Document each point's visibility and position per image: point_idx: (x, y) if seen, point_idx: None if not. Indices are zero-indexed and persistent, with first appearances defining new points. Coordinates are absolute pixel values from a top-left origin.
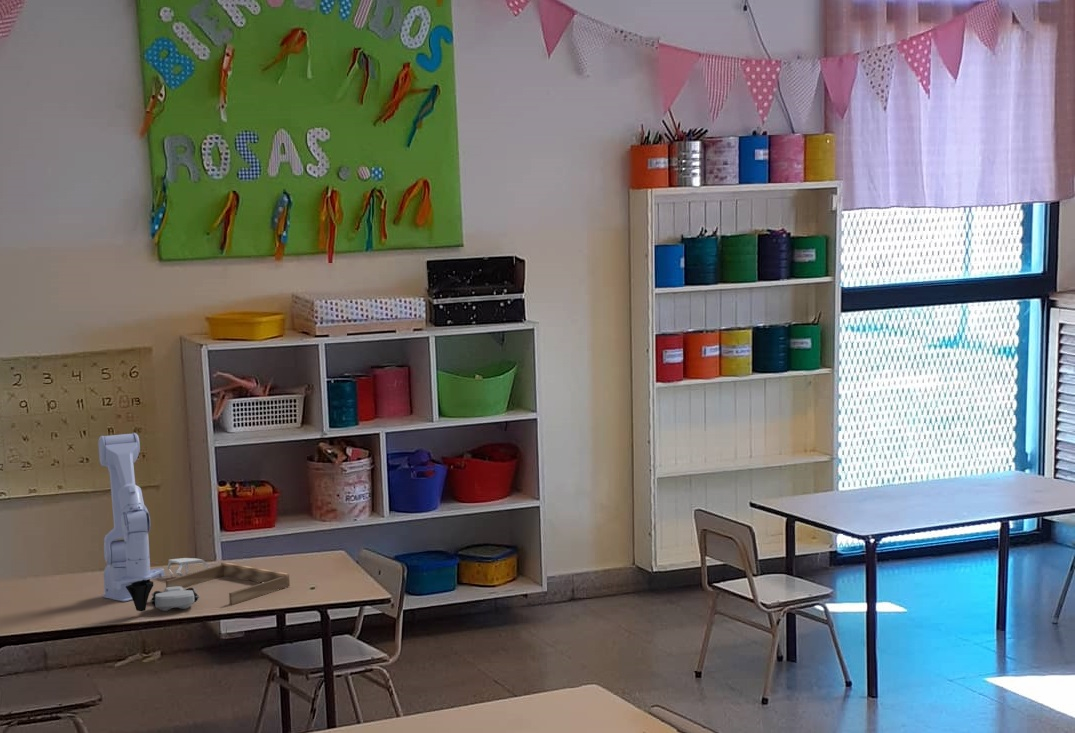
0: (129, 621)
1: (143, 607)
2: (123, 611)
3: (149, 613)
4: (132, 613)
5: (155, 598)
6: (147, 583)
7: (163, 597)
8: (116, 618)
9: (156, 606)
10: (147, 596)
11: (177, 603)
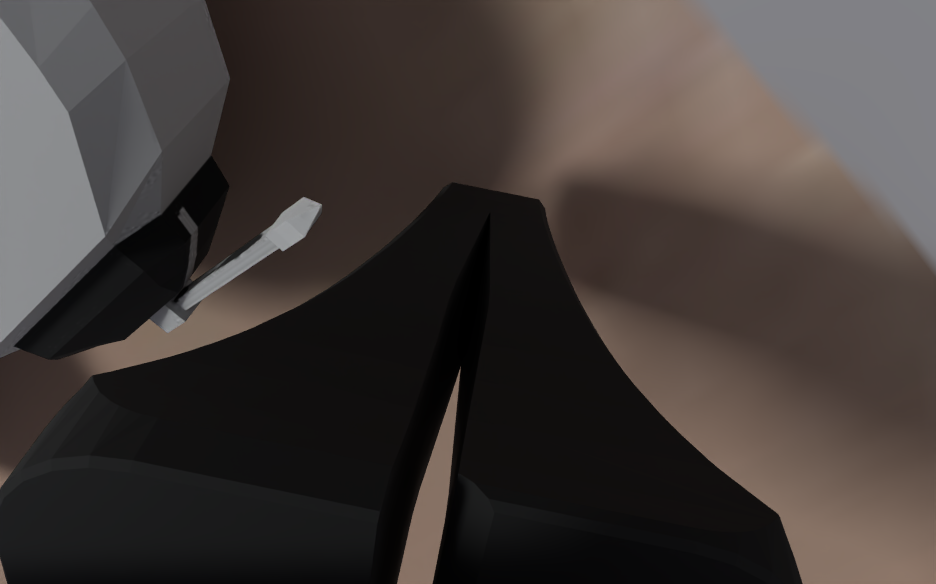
0: (841, 176)
1: (503, 209)
2: (424, 506)
3: (337, 163)
4: None
5: (138, 217)
6: (295, 549)
7: (32, 15)
8: (726, 428)
9: (220, 108)
10: (369, 289)
11: None
